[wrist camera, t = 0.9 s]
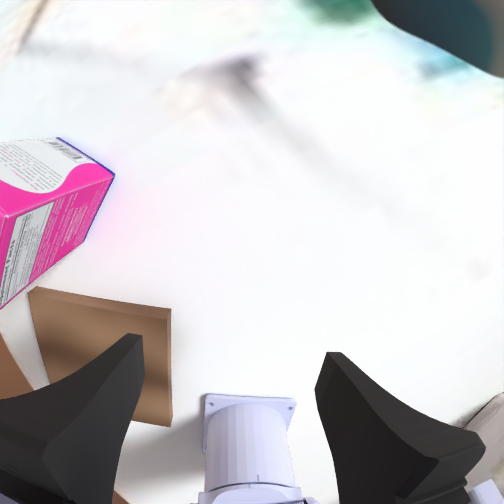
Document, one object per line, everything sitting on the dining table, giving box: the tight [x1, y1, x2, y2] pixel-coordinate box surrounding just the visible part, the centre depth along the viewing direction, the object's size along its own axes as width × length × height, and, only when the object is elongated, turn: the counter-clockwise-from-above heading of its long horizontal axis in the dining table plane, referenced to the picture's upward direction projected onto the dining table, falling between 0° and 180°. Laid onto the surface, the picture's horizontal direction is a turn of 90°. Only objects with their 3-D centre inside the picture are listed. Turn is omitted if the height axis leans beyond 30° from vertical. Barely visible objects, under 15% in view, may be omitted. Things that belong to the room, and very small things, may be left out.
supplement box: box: [0, 137, 115, 310], centre depth 13 cm, size 6×6×12 cm
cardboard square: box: [28, 286, 173, 427], centre depth 23 cm, size 12×12×2 cm
